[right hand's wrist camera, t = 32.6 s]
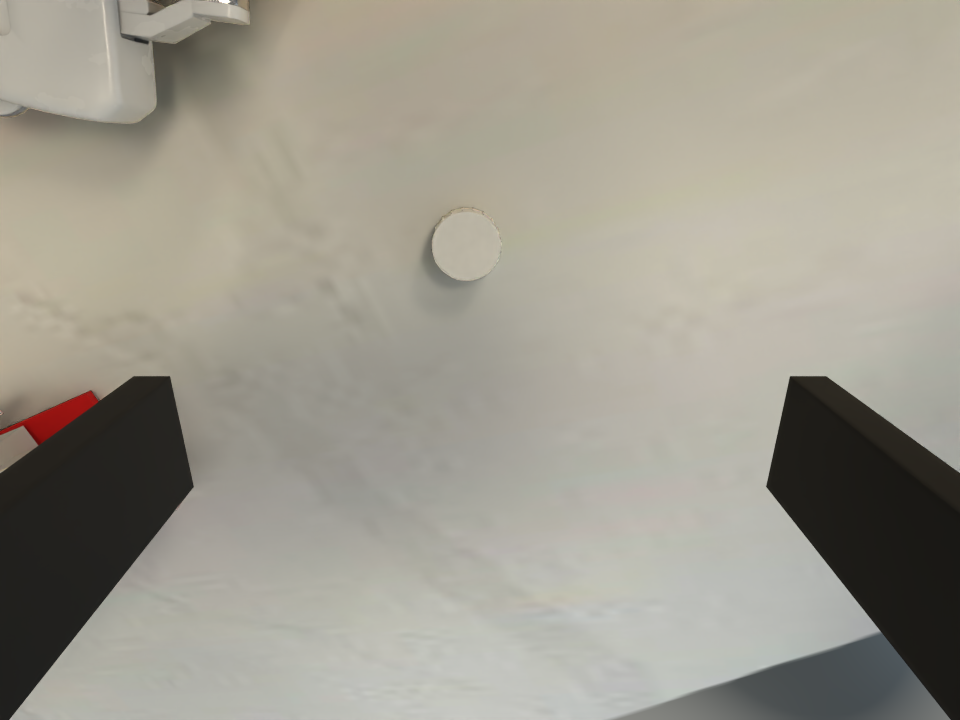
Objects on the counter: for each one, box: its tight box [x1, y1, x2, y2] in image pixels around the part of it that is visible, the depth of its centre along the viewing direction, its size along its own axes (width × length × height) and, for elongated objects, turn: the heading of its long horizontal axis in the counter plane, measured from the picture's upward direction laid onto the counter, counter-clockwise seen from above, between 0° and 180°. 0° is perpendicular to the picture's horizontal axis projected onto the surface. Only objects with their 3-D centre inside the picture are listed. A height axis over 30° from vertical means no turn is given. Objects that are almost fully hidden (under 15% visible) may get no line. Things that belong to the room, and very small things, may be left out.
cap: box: [431, 207, 502, 281], centre depth 34 cm, size 4×4×2 cm
